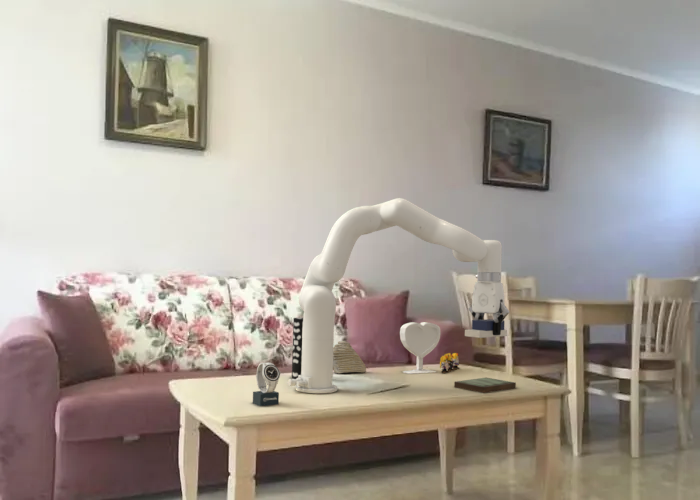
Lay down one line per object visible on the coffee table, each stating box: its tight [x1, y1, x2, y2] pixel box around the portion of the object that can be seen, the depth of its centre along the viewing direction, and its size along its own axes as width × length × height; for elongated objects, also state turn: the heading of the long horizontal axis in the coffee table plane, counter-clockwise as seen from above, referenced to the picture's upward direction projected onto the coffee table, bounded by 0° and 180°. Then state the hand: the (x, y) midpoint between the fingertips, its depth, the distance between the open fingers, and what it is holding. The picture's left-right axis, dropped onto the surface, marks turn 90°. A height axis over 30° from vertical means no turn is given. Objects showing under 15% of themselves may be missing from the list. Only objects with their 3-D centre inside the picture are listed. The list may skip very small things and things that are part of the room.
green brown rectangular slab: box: [454, 377, 517, 394], centre depth 217 cm, size 16×12×2 cm
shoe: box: [464, 318, 508, 339], centre depth 218 cm, size 14×6×5 cm, turn 130°
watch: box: [252, 361, 282, 407], centre depth 183 cm, size 6×8×11 cm
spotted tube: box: [291, 317, 303, 379], centre depth 227 cm, size 8×8×20 cm
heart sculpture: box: [399, 321, 442, 375], centre depth 248 cm, size 16×5×18 cm, turn 117°
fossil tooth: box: [333, 340, 367, 375], centre depth 241 cm, size 12×6×15 cm
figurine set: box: [439, 352, 461, 374], centre depth 253 cm, size 3×16×7 cm, turn 151°
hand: (488, 333), depth 218 cm, fingers closed on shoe, 6 cm apart
